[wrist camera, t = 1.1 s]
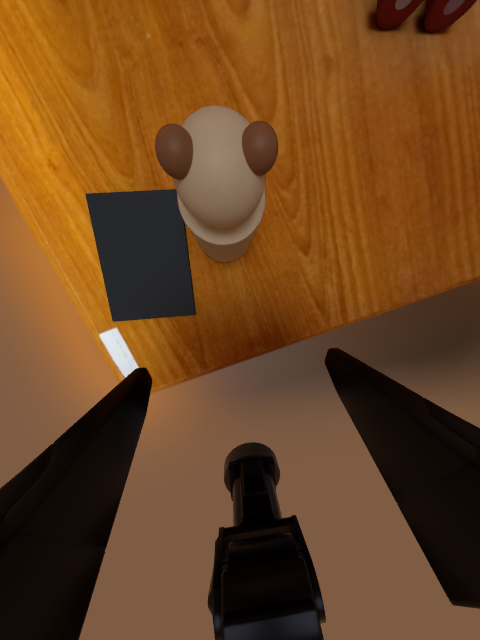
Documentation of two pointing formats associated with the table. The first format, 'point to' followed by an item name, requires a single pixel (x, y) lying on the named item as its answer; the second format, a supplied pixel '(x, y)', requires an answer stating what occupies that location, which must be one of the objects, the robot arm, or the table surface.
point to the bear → (219, 176)
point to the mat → (142, 253)
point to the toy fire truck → (440, 12)
